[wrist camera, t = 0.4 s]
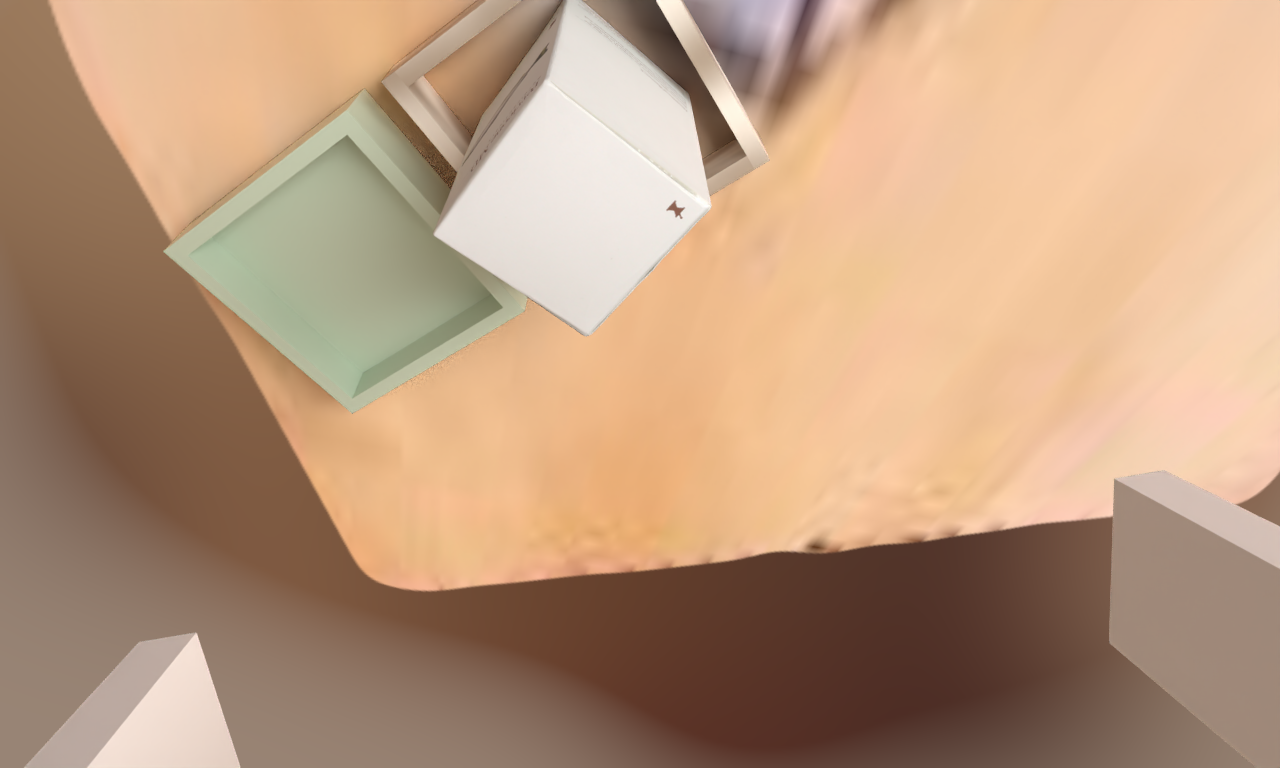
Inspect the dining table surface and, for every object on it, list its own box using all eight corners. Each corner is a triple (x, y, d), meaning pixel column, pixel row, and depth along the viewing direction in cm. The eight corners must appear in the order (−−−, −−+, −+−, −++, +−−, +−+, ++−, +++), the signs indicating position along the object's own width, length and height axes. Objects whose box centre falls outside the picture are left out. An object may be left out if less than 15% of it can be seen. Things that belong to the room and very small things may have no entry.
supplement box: (569, -17, 34) (548, 69, 24) (693, 94, 37) (720, 211, 27) (476, 113, 37) (424, 235, 28) (597, 204, 41) (590, 344, 31)
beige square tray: (393, 65, 36) (381, 81, 34) (620, -111, 32) (620, -103, 30) (557, 265, 43) (554, 288, 41) (762, 140, 39) (769, 160, 37)
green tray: (189, 223, 41) (162, 251, 38) (364, 88, 37) (346, 109, 34) (365, 381, 47) (352, 413, 45) (530, 281, 43) (524, 311, 41)
